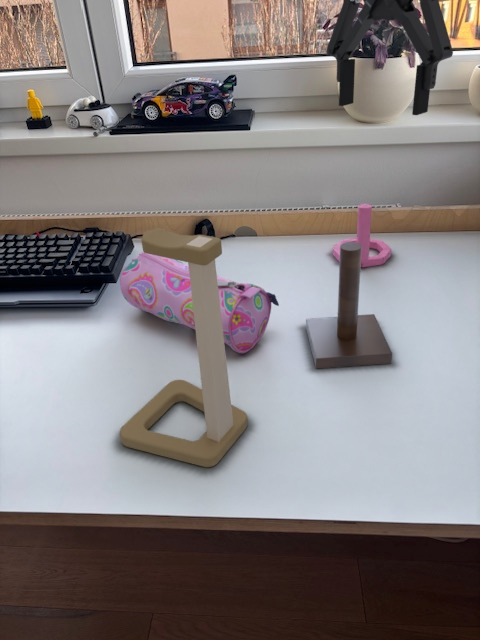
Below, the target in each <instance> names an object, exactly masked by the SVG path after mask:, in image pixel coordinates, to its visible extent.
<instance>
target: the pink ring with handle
mask: <svg viewBox="0 0 480 640" xmlns="http://www.w3.org/2000/svg"><path fill="white" fill-rule="evenodd" d="M357 207H358V208H357V223H356V237H353V238H345V239H342V240H340V241H339V242H338V243H336V245H334V246H333V248H332V255H333V257H334V258H335V259H336V260H337V261H338V263H340V245H341V244H343V243H346V242H355V243H358V244H360V245H361V246H362V251H361V268H369V267H374V266H375V267H376V266H382V265H384V264H385V263H386V262H387V261H388V260H389V258H391V256H392V247H390V246H389V245H387V243H386V242H384V241H383V240H382V239H376V238H371V229H372V228H371V227H372V215H373V214H372V213H373V212H372V211H373V205H372V204H369V203H361V204H358V206H357ZM370 249H374V250H377V251H378V252H379V253H377V255H370Z"/></svg>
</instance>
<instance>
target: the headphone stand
mask: <svg viewBox="0 0 480 640" xmlns="http://www.w3.org/2000/svg"><path fill="white" fill-rule="evenodd" d="M140 241H141V246H142V247H141V248H142V252H144V253H147V254H152V255H156V256H161V257H166V258H170V259H175V260H178V261H180V262H184V263H187V264H188V265H187V266H188V267H189V275H190V284H191V293H192V302H193V311H194V321H195V329H194V330H195V338H196V347H197V357H198V364H199V365H198V366H199V374H200V375H199V376H200V383H201V388H200V387H198V386H196V385H195V384H193V383H191V382H189V381H187V380H184V379H175V380H171V381H170V382H169V383H168V384H166V385H165V386H164V387H163V388H162V389H161V390H160V391H159V392H158V393H157V394H156V395H154V396H153V397H152V398H151V399H150V400H149V401H148V402H147V403H146V404H145V405H144V406H143V407H142V408H141V409H139V410H138V411H137V412H136V413H135V414H134V415H133V416H132V417H131V418H129V420H127V422H126V423H124V424H123V425H122V426H121V428H120V429H119V437H120V442H121V444H122V445H123V446H125V447H127V448H131V449H135V450H138V451H141V452H146V453H149V454H153V455H158V456H160V457H165V458H169V459H173V460H175V461H181V462H183V463H188V464H191V465H196V466H200V467H204V468H211V467H214V466H216V465H217V464H218V463H219V462H220V461H221V460H222V459H223V457H224V456H225V455H226V454H227V453H228V451H229V450H230V449H231V448H232V446H233V445H234V444H235V443H236V441H237V440H238V439H239V438H240V437H241V435H242V434H243V432H245V430H246V429H247V428H248V426H249V425H248V424H249V421H248V414H247V413H246V412H245V411H244V410H243V409H240V408H238V407H237V406H235V405H233V404H232V398H231V389H230V382H229V371H228V363H227V356H226V346H225V345H226V344H225V342H224V336H223V327H222V318H221V309H220V300H219V291H218V282H217V276H218V274H217V273H218V272H217V267H216V265H217V264H216V259H217V258H219V257H220V256H222V254H223V246H222V239H221V238H220V237H215V236H210V235H206V234H195V235H185V234H180V233H179V234H178V233H175V232H171V231H169V230H167V229H164V228H162V227H159V228H153V229H150V230H149V229H148V230H144V232H143V234H142V236H141V239H140ZM179 402H185V403H186V404H188V405H190V406H192V407H194V408H195V409H197V410H199V411H201V412H203V413H204V421H205V429H206V430H205V433H204V434H202V435H201V437H200V438H199V439H197V440H188V439H185V438H180V437H176V436H172V435H168V434H164V433H160V432H155V431H151V430H149V429H150V428H151V427H152V426H153V425H154V424H156V422H157V421H158V420H159V419H160V418H161V417H162V416H163V415H164V414H165V413H166V412H167V411H168V410H169V409H170V408H171V407H173V405H175V404H176V403H179Z"/></svg>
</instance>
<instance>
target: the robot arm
mask: <svg viewBox="0 0 480 640" xmlns="http://www.w3.org/2000/svg"><path fill="white" fill-rule="evenodd" d="M418 1H419V6H420V11H421V14H422V18H423V20H424V23H425V26H424V24H423V22H422V21H421V19H420V17H419V15H420V13H419V12H418V9H417V8H416V6H415V4H414V0H343V2H342V5H341V8H340V11H339V14H338V17H337V19H336V22H335V25H334V27H333V30H332V33H331V36H330V38H329V42H328V44H327V47H326V50H325V51H326V55H327V56H331V57H333V58H335V60H336V82H337V83H338V84H339V88H338V89H339V90H338V106H339V107H344V106H348V105H351V104H354V99H355V98H354V95H355V73H356V59H355V58H353V57H354V55H353V54H354V52H355V51H356V49H357V48H358V46H359V44H360V43H361V42H362V40H363V39H364V37H365V36H366V35H367V33H368V31H369V30H370V28H371V27H372V25H373V24H374V23H375V22H377V21H378V22H379V21H384V20H385V21H388V22H389V21H397V23H398V24H400V25H401V26H402V29H403V30H404V31H405V33H406V35H407V37H408V38H409V40H410V42H411V44H412V46H413V48H414V49H415V51H416V53H417V55H418V56H419V59H420V60H421V63H420V64H417V65H416V69H415V70H416V71H415V72H416V73H415V83H414V91H413V92H414V93H413V100H412V101H413V102H412V104H413V105H412V113H411V114H412V116H419V115H423V114H426V113H428V111H429V102H430V93H431V90H432V89H434V88H435V86H436V83H437V82H436V81H437V74H438V67H439V66H438V65H439V64H440V62H441V61H444V60H447V59H450V58H452V57H453V54H454V50H453V47H452V43H451V40H450V36H449V32H448V29H447V26H446V22H445V19H444V15H443V11H442V8H441V3H440V1H439V0H418ZM361 2H363V3H364V4H363V6H362V7H361V10H360V11H359V13H358V10H359V8H360V4H361ZM357 13H358V14H357ZM356 17H357V19H356V21H355V18H356ZM354 21H355V22H354ZM425 27H426V28H425Z"/></svg>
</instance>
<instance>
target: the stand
mask: <svg viewBox="0 0 480 640" xmlns="http://www.w3.org/2000/svg"><path fill="white" fill-rule="evenodd" d="M361 251H362V246H361V245H360V244H358V243H355V242H346V243H343V244H341V245H340V262H338V263H339V264H338V291H337V292H338V293H337V294H338V296H337V316H328V317H327V316H326V317H313V318H312V317H311V318H306V319H305V330H306V334H307V338H308V343H309V347H310V350H311V354H312V359H313V363H314V367H315V369H331V368H345V367H358V366H359V367H361V366H374V365H387V364H388V365H389V364H392V360H393V352H392V350H391V347H390V345H389V343H388V341H387V339H386V337H385V335H384V332H383V330H382V328H381V326H380V324H379V321H378V319H377V316H376V315H375V313H370V314H369V313H368V314H359V301H360V285H361V284H360V283H361V268H362V267H361Z"/></svg>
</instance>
